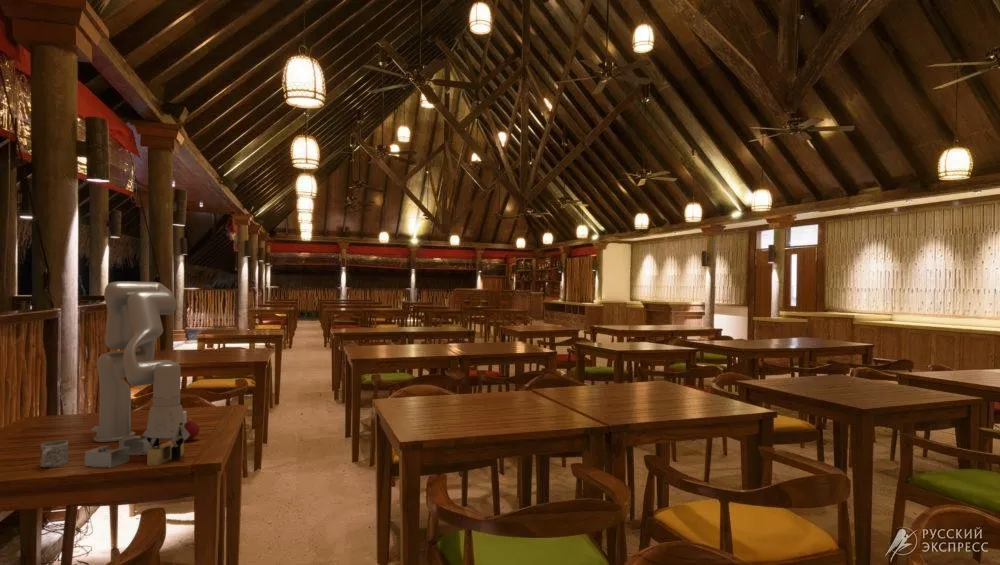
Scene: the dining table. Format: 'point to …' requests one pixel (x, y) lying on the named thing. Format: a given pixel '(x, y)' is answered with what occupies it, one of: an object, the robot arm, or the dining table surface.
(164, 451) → the tan block
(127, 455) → the block
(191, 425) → the onion
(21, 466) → the dining table surface
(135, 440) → the block
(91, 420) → the dining table surface
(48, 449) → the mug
